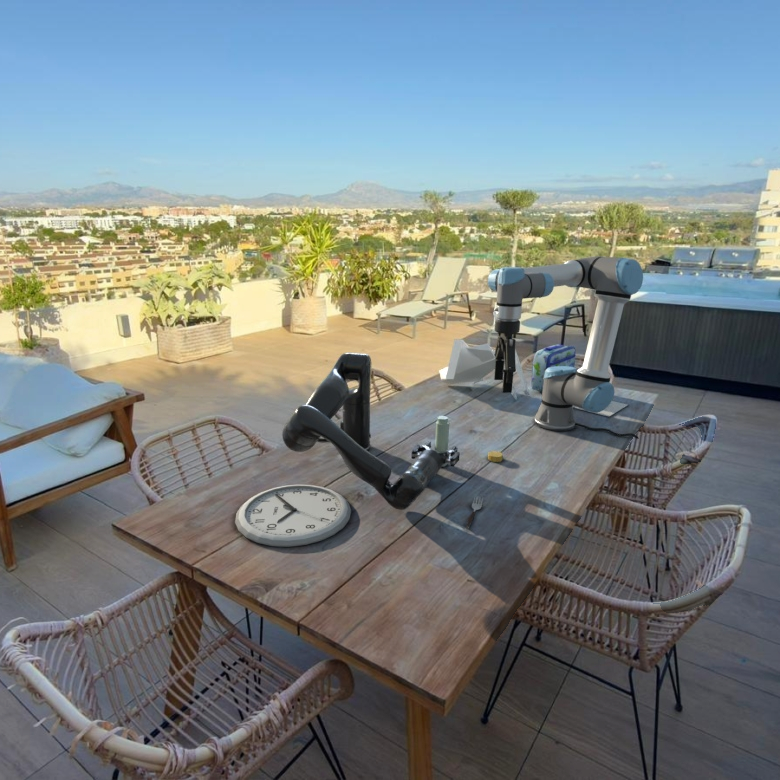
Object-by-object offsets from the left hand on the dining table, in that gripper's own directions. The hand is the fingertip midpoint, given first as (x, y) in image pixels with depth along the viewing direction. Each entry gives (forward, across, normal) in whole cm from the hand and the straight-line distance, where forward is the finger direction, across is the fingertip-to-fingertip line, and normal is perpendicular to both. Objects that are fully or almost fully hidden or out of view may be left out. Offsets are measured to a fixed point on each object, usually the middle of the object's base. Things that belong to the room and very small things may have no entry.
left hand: (442, 446), depth 168 cm
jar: (-1, 0, -6) cm, 6 cm away
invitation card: (+84, +46, -6) cm, 95 cm away
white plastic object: (+81, -7, -6) cm, 81 cm away
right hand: (+11, +16, +20) cm, 27 cm away
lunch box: (+101, +23, -6) cm, 104 cm away
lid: (+11, +15, -4) cm, 19 cm away
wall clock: (-46, -26, -6) cm, 54 cm away
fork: (-28, +18, -6) cm, 33 cm away
